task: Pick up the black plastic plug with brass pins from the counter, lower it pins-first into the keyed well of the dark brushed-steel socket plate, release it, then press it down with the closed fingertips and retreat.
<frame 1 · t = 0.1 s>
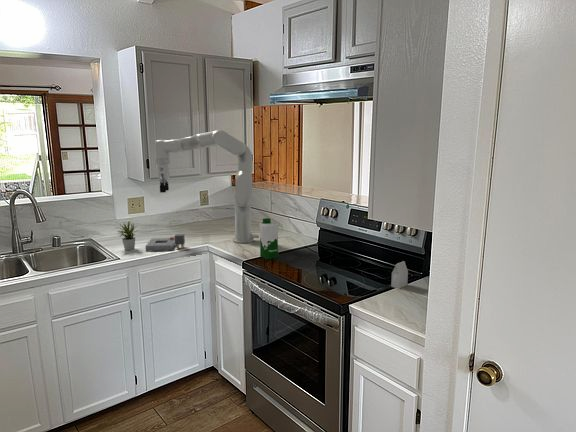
hand: (164, 191, 249), 31 cm above the worktop, fingers open, 9 cm apart
socket plate: (161, 246, 247), on the worktop
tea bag: (399, 286, 180), on the worktop
plug: (180, 247, 244), on the worktop
house plant: (128, 249, 243), on the worktop
milk carton: (269, 257, 225), on the worktop
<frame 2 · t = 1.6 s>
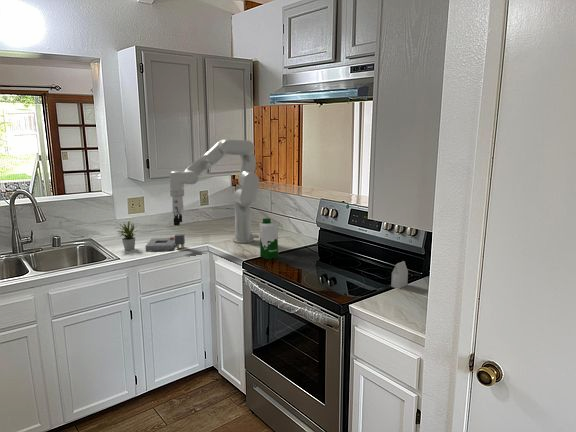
hand: (178, 223, 242), 14 cm above the worktop, fingers open, 9 cm apart
nothing on the worktop moved.
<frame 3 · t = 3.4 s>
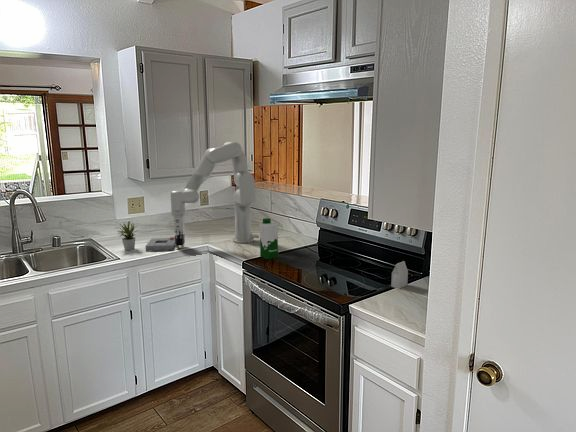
hand: (180, 243, 244), 2 cm above the worktop, fingers closed on plug, 4 cm apart
plug: (180, 247, 244), on the worktop, touching gripper
everything else where it was.
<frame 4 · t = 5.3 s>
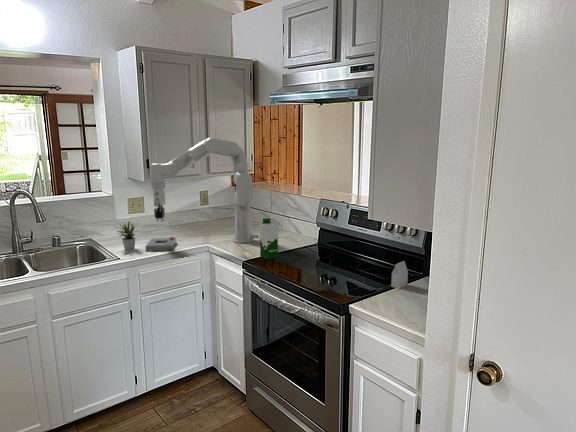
hand: (159, 217, 244), 17 cm above the worktop, fingers closed on plug, 4 cm apart
plug: (160, 221, 244), point 15 cm above the worktop, touching gripper
everything else where it was.
when the fingers open (3 cm above the worktop, at t = 7.5 s): plug stays where it is, resting in socket plate.
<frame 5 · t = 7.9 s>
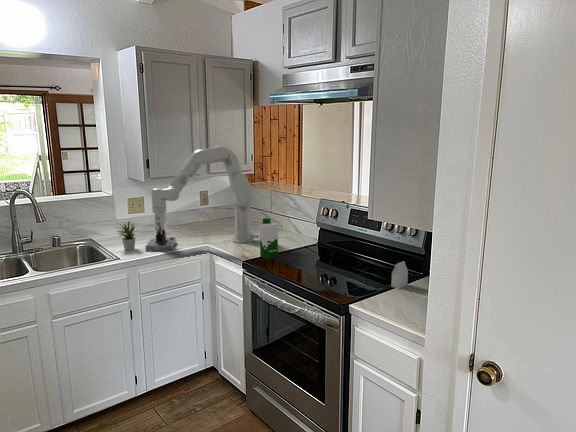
hand: (161, 239, 246), 4 cm above the worktop, fingers open, 8 cm apart
plug: (161, 246, 247), resting in socket plate
everything else where it was.
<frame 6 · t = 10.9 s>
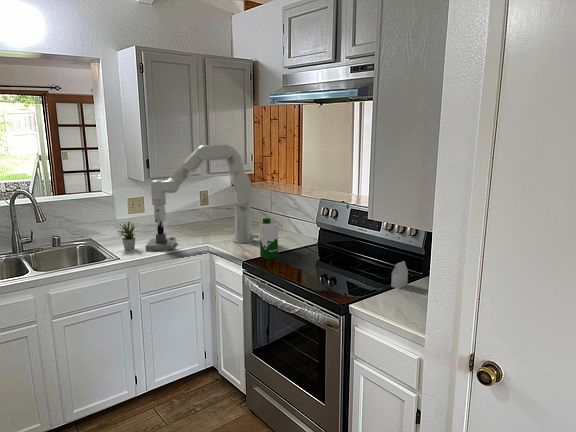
hand: (160, 233, 246), 8 cm above the worktop, fingers closed
nothing on the worktop moved.
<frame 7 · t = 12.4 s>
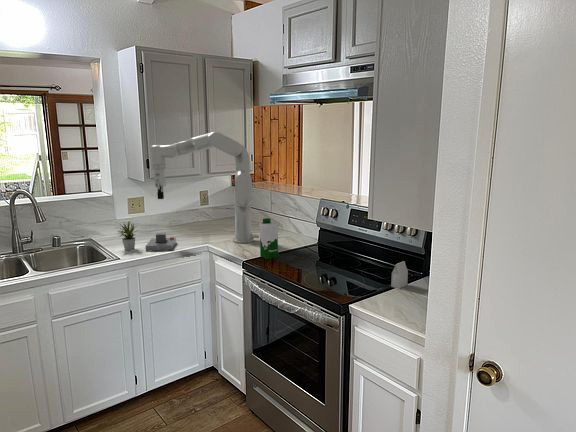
hand: (160, 198, 248), 27 cm above the worktop, fingers closed
nothing on the worktop moved.
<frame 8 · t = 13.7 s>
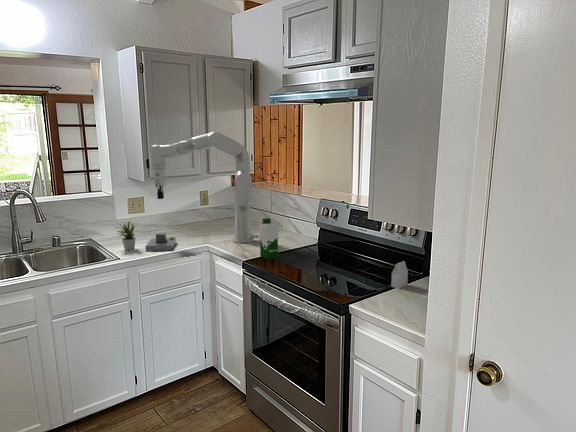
hand: (160, 198, 248), 27 cm above the worktop, fingers closed
nothing on the worktop moved.
at the end: plug 0.0 cm off-centre on the socket plate, point 0.0 cm above the socket plate's base; plug tilted 0°; the gripper is holding nothing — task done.
